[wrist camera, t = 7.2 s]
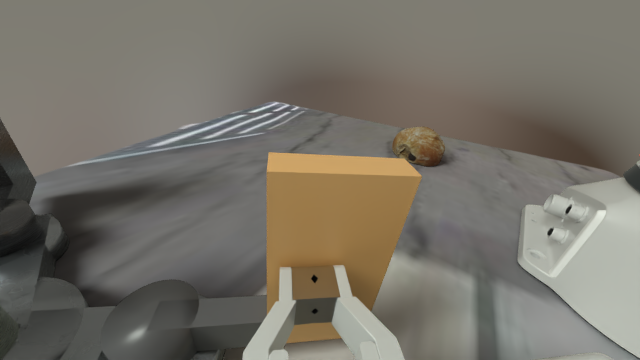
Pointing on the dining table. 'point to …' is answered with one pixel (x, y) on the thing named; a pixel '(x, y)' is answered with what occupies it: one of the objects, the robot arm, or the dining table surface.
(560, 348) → the dining table surface
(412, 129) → the bread roll
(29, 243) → the levelling base
